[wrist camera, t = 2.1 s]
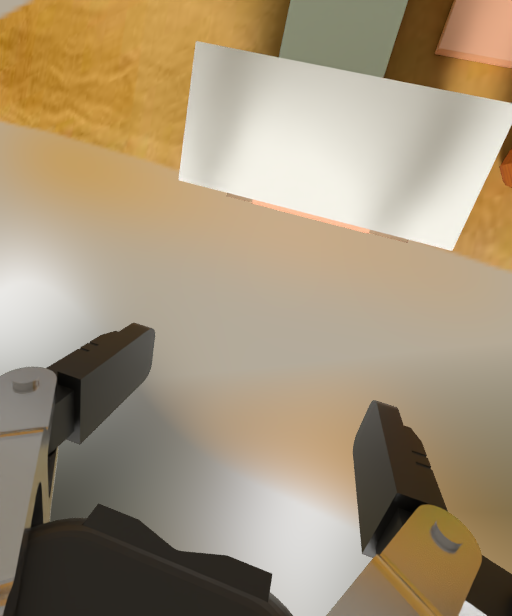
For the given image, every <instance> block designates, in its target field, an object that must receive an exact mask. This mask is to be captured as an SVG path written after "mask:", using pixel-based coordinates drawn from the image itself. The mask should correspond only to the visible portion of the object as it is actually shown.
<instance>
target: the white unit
mask: <svg viewBox="0 0 512 616" xmlns="http://www.w3.org/2000/svg"><path fill="white" fill-rule="evenodd" d="M511 125H512V103H508V102H503V101H497V100H492V99H487V98H482V97H477V96H472V95H467V94H462V93H457V92H452V91H447V90H442V89H437V88H431V87H426V86H421V85H416V84H411V83H406V82H401V81H396V80H391V79H386V78H381V77H376V76H371V75H365V74H360V73H355V72H350V71H345V70H340V69H335V68H330V67H325V66H320V65H315V64H310V63H304V62H299V61H294V60H289V59H284V58H279V57H274V56H269V55H264V54H259V53H254V52H249V51H244V50H238V49H233V48H228V47H223V46H218V45H213V44H208V43H203V42H198V41H196V45H195V53H194V61H193V69H192V77H191V85H190V93H189V101H188V109H187V117H186V125H185V133H184V141H183V149H182V157H181V165H180V173H179V180H180V181H184V182H188V183H192V184H196V185H199V186H203V187H207V188H211V189H215V190H219V191H223V192H227V196H229V197H233V198H237V199H241V200H244V201H248V202H252V204H256V205H260V206H264V207H268V208H271V209H275V210H279V211H283V212H287V213H291V214H295V215H298V216H303V217H306V218H310V219H314V220H318V221H322V222H325V223H329V224H333V225H337V226H341V227H344V228H348V229H352V230H356V231H360V232H364V233H368V234H369V233H371V234H375V235H379V236H383V237H387V238H390V239H394V240H398V241H402V242H406V243H407V242H408V240H412V241H416V242H420V243H424V244H428V245H432V246H435V247H439V248H443V249H447V250H451V251H452V250H453V248H454V246H455V244H456V242H457V239H458V237H459V235H460V233H461V231H462V229H463V227H464V225H465V223H466V220H467V218H468V216H469V214H470V212H471V210H472V208H473V206H474V203H475V201H476V199H477V197H478V195H479V193H480V191H481V189H482V187H483V184H484V182H485V180H486V178H487V176H488V174H489V172H490V170H491V168H492V165H493V163H494V161H495V159H496V157H497V155H498V153H499V151H500V148H501V146H502V144H503V142H504V140H505V138H506V136H507V134H508V132H509V129H510V127H511Z"/></svg>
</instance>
